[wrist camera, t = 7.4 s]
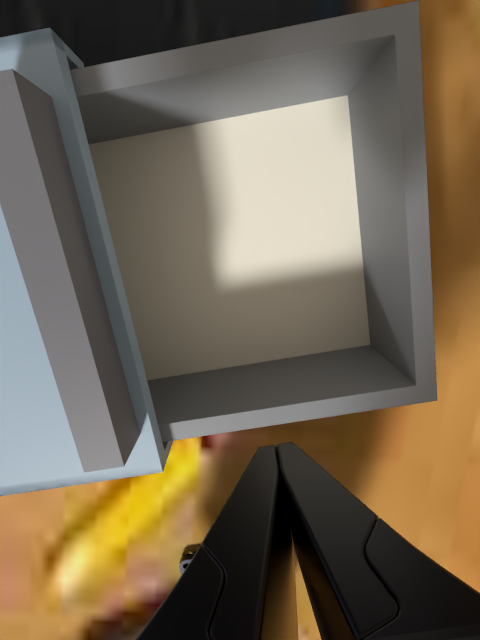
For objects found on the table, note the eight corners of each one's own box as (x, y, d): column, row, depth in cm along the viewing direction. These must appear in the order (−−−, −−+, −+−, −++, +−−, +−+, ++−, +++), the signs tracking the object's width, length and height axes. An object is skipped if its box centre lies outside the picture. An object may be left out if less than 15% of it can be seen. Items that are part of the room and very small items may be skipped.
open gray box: (381, 352, 21) (437, 400, 15) (10, 411, 22) (-75, 478, 16) (359, 78, 17) (418, 0, 11) (-77, 161, 18) (-226, 129, 12)
